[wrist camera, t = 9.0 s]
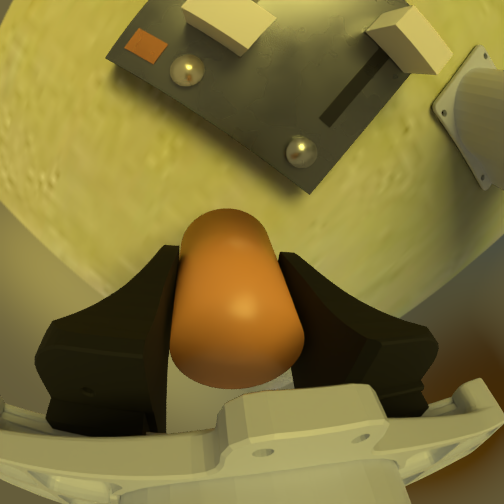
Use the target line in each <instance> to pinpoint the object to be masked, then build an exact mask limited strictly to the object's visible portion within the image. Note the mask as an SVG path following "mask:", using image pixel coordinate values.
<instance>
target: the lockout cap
mask: <svg viewBox="0 0 504 504" xmlns="http://www.w3.org/2000/svg"><path fill="white" fill-rule="evenodd" d="M303 346H304V331H303V328H302V325H301V323H300V320H299V317H298V314H297V312H296V309H295V306H294V304H293V301H292V298H291V295H290V293H289V290H288V287H287V285H286V282H285V279H284V277H283V274H282V271H281V269H280V266H279V263H278V261H277V258H276V255H275V253H274V250H273V247H272V245H271V242H270V240H269V237H268V234H267V232H266V230H265V228H264V227H263V225H262V224H261V223H260V222H259V221H258V220H257V219H256V218H255V217H253V216H252V215H250V214H248V213H246V212H243V211H240V210H237V209H217V210H213V211H210V212H207V213H205V214H203V215H201V216H200V217H198V218H197V219H195V220H194V221H193V222H192V223H191V224H190V226H189V227H188V228H187V230H186V231H185V233H184V236H183V239H182V243H181V250H180V257H179V265H178V273H177V280H176V288H175V297H174V306H173V315H172V325H171V336H170V353H171V357H172V360H173V362H174V363H175V365H176V366H177V368H178V369H179V370H180V371H181V372H182V373H183V374H184V375H186V376H187V377H189V378H190V379H192V380H194V381H196V382H198V383H200V384H203V385H207V386H210V387H215V388H221V389H242V388H249V387H253V386H257V385H261V384H264V383H266V382H269V381H271V380H273V379H275V378H277V377H278V376H280V375H282V374H283V373H284V372H286V371H287V370H288V369H289V368H290V367H291V366H292V365H293V364H294V363H295V362H296V361H297V359H298V358H299V356H300V354H301V352H302V350H303Z"/></svg>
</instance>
